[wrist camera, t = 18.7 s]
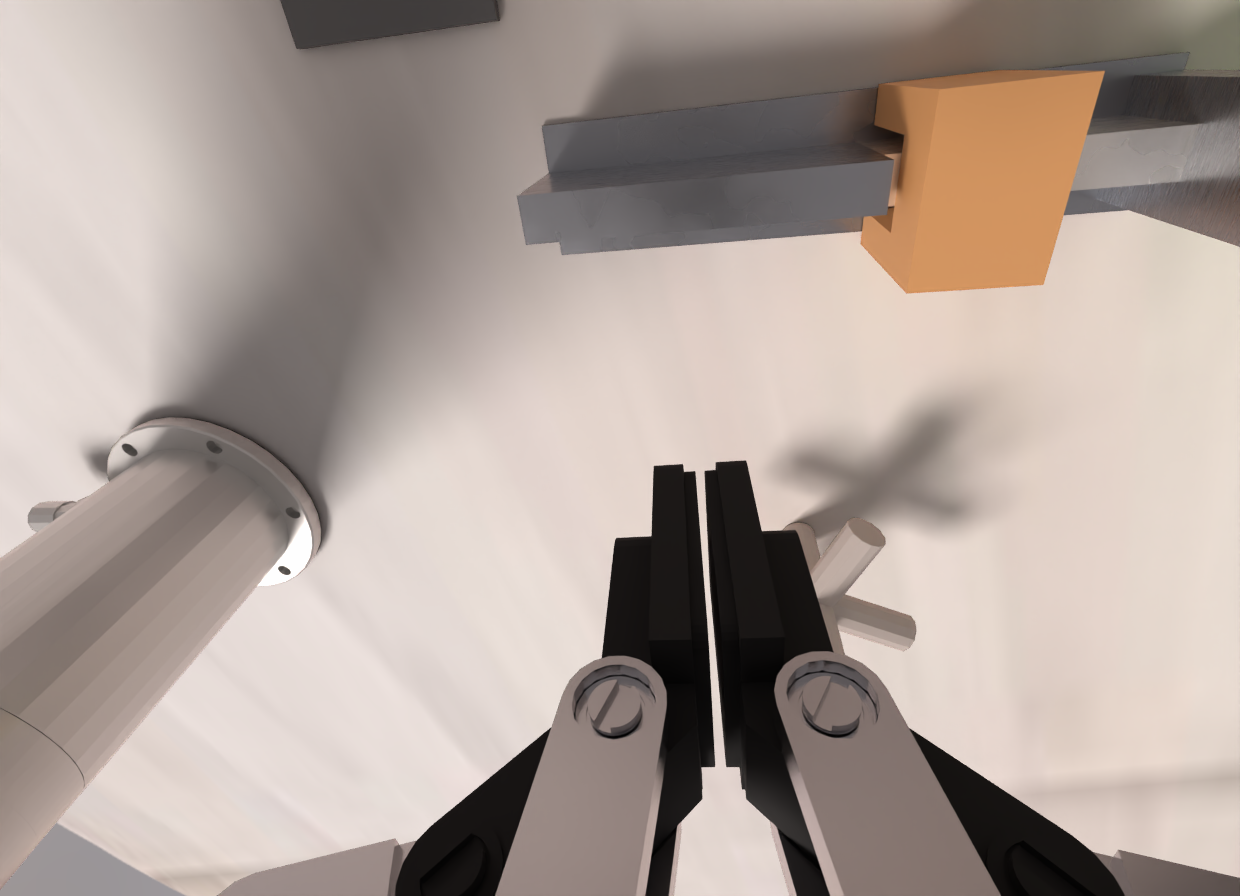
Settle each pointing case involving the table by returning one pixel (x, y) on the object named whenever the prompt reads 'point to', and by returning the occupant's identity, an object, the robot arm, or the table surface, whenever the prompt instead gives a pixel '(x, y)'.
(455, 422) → the table surface
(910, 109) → the clip
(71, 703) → the robot arm
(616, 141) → the rail
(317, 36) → the pad
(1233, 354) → the table surface
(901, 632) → the pipe connector
